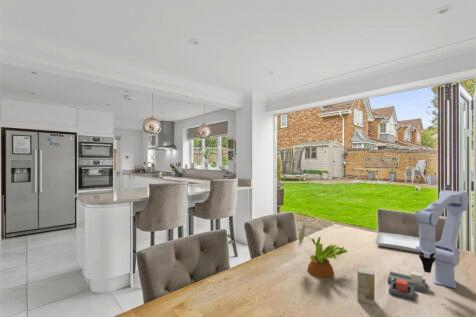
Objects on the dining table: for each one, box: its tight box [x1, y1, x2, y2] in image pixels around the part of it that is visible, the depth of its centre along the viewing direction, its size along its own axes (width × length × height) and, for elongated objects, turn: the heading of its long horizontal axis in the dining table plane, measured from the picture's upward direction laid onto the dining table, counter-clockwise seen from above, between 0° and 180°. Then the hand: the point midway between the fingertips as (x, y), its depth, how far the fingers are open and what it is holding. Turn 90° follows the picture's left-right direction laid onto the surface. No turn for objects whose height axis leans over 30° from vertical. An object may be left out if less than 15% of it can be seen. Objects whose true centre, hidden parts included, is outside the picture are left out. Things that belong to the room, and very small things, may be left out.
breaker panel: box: [387, 270, 426, 293], centre depth 117 cm, size 10×14×2 cm
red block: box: [395, 278, 409, 293], centre depth 108 cm, size 4×4×5 cm
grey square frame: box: [388, 281, 415, 301], centre depth 109 cm, size 8×8×2 cm
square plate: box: [374, 231, 422, 254], centre depth 169 cm, size 27×27×4 cm
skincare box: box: [356, 267, 376, 305], centre depth 103 cm, size 6×4×12 cm
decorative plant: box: [297, 223, 348, 279], centre depth 128 cm, size 27×24×25 cm
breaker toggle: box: [410, 270, 423, 284], centre depth 114 cm, size 4×4×4 cm
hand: (427, 269), depth 110 cm, fingers open, 7 cm apart
